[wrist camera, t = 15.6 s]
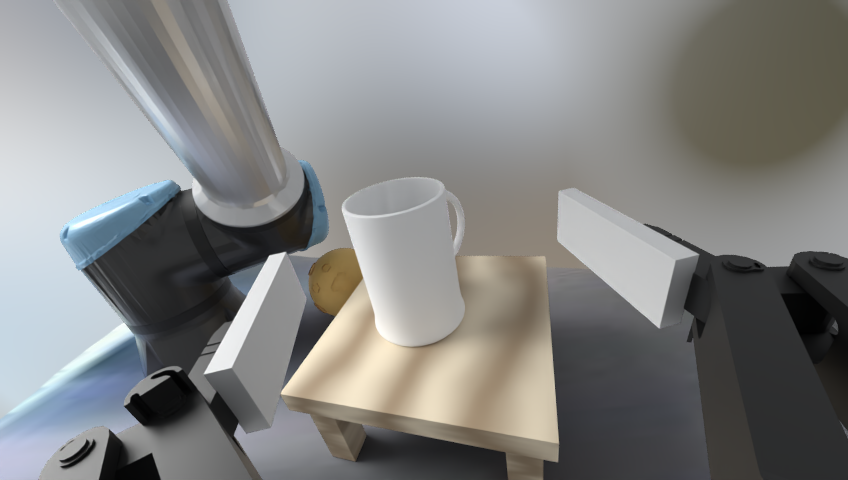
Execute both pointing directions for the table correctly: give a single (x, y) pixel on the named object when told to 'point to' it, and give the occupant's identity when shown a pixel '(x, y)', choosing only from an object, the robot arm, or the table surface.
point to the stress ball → (334, 279)
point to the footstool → (444, 371)
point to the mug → (408, 257)
